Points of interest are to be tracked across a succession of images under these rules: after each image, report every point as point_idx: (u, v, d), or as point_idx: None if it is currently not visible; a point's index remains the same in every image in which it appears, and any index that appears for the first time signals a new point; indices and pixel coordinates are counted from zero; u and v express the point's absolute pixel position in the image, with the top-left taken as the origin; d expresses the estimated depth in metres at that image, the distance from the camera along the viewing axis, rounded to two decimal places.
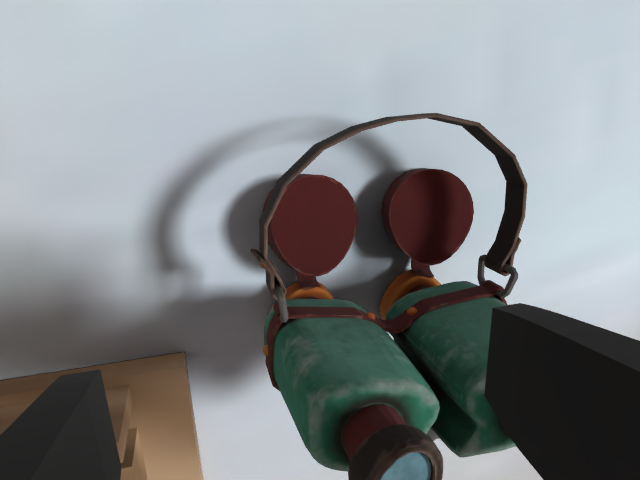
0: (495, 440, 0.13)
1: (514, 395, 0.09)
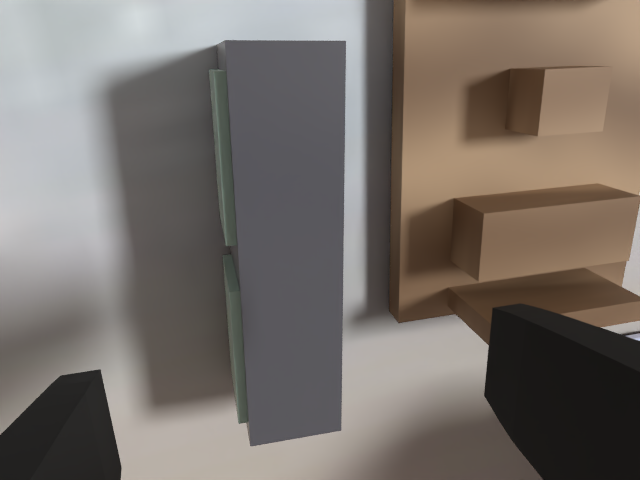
0: None
1: (514, 395, 0.09)
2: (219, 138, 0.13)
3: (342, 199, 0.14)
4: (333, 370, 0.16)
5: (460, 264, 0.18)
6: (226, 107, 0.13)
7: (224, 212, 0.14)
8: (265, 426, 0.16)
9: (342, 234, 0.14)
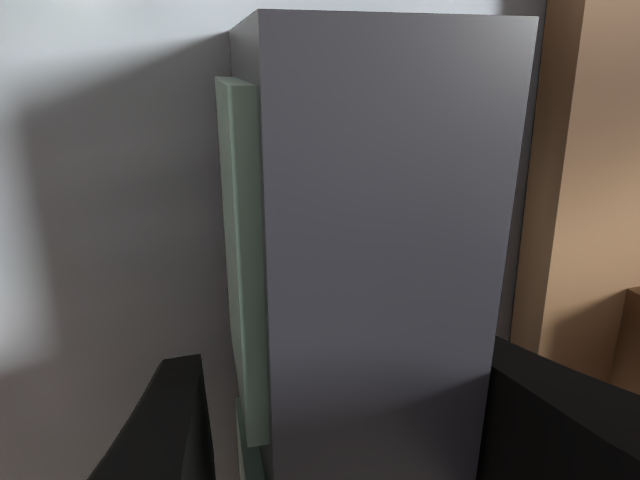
0: None
1: None
2: (238, 237, 0.06)
3: (490, 351, 0.07)
4: None
5: None
6: (255, 169, 0.06)
7: (245, 384, 0.06)
8: None
9: (481, 412, 0.07)
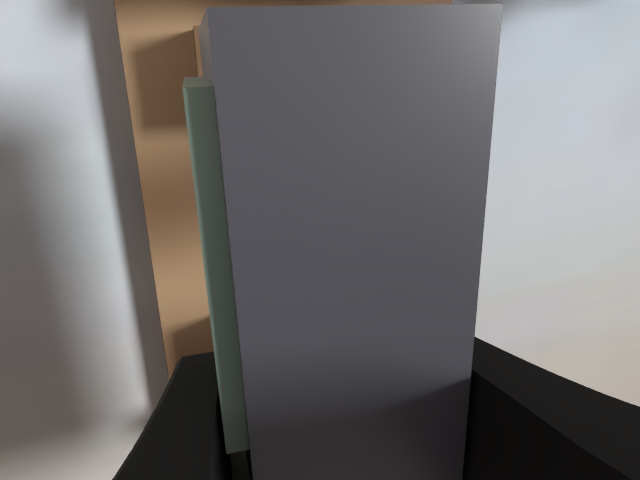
0: None
1: None
2: (203, 242, 0.06)
3: (470, 348, 0.07)
4: None
5: None
6: (217, 171, 0.05)
7: (220, 390, 0.06)
8: None
9: (465, 411, 0.07)
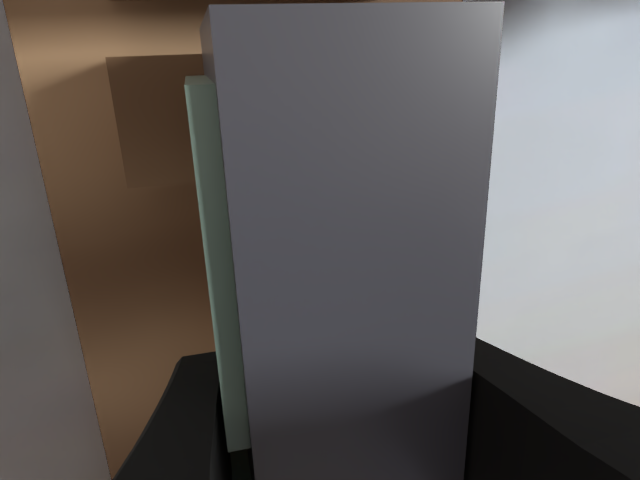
0: None
1: None
2: (205, 240, 0.06)
3: (472, 347, 0.07)
4: None
5: None
6: (219, 169, 0.05)
7: (222, 388, 0.06)
8: None
9: (466, 408, 0.07)
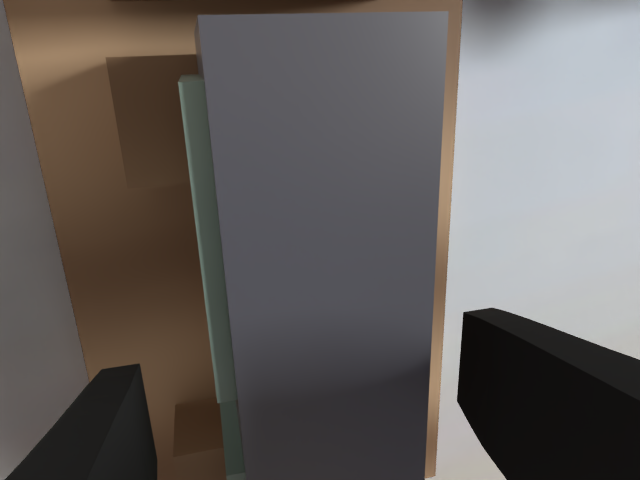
0: None
1: (484, 401, 0.09)
2: (196, 214, 0.07)
3: (430, 311, 0.08)
4: None
5: None
6: (208, 153, 0.06)
7: (212, 345, 0.07)
8: None
9: (427, 368, 0.08)
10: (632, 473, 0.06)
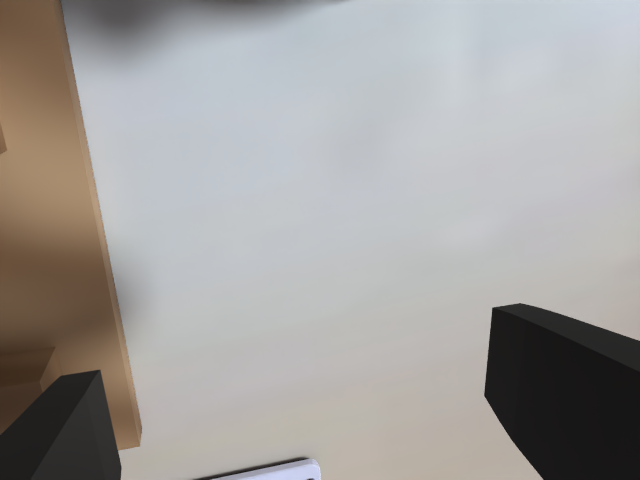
0: None
1: (514, 395, 0.09)
2: None
3: None
4: None
5: None
6: None
7: None
8: None
9: None
10: None
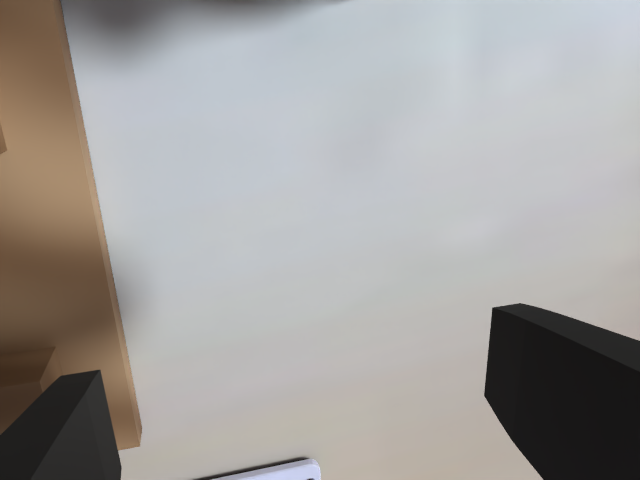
0: None
1: (514, 395, 0.09)
2: None
3: None
4: None
5: None
6: None
7: None
8: None
9: None
10: None
